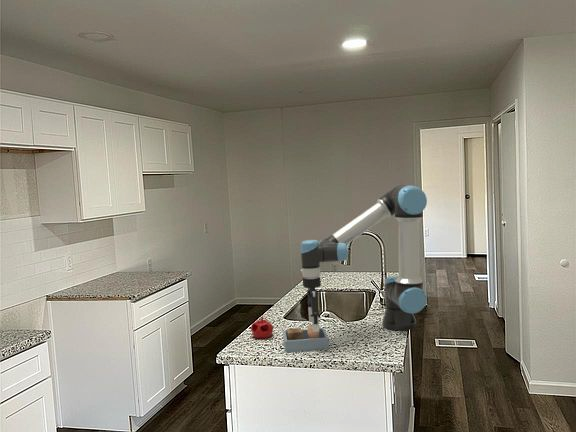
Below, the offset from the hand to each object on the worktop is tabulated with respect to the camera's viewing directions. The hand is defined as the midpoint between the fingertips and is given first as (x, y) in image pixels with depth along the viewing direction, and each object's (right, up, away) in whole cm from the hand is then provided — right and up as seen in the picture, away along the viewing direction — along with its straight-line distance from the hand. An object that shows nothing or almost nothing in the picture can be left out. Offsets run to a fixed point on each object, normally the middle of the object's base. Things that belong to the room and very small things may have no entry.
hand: (314, 326), depth 218 cm
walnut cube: (-8, -8, 0) cm, 11 cm away
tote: (-3, -8, 0) cm, 9 cm away
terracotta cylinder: (0, -7, +1) cm, 7 cm away
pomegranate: (-22, -8, +15) cm, 28 cm away
